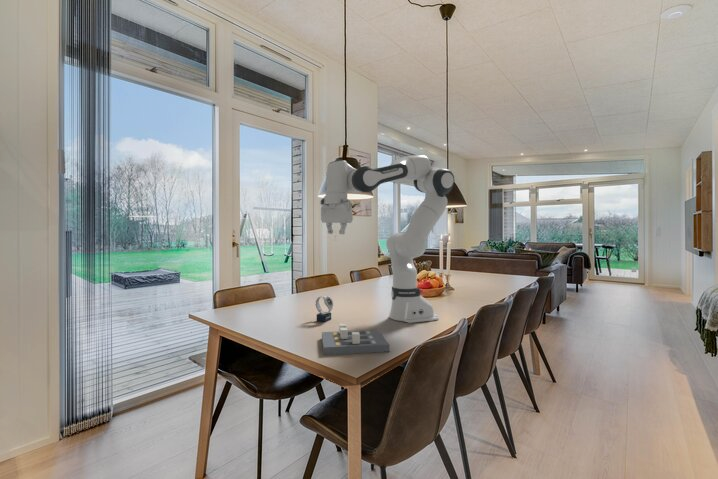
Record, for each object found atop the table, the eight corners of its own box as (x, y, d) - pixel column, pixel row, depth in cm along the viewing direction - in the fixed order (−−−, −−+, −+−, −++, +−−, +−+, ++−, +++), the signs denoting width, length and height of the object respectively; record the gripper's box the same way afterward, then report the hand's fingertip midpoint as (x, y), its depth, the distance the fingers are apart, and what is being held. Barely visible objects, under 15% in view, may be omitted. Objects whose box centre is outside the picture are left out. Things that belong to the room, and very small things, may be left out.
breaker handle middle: (346, 336, 128) (346, 327, 128) (347, 338, 125) (347, 329, 125) (340, 336, 128) (340, 328, 127) (340, 339, 125) (340, 330, 125)
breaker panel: (379, 336, 137) (379, 329, 137) (389, 351, 120) (389, 344, 120) (321, 338, 134) (321, 331, 134) (323, 355, 117) (323, 347, 117)
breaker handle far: (345, 332, 133) (345, 323, 133) (346, 334, 131) (346, 325, 131) (338, 332, 133) (338, 323, 133) (339, 334, 130) (339, 325, 130)
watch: (328, 323, 155) (328, 298, 155) (313, 320, 159) (313, 296, 158) (335, 320, 160) (335, 295, 160) (319, 317, 164) (319, 294, 163)
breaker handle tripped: (358, 341, 123) (358, 331, 123) (359, 343, 120) (359, 334, 120) (351, 341, 123) (351, 332, 123) (352, 343, 120) (352, 334, 120)
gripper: (356, 199, 139) (356, 234, 139) (331, 201, 156) (330, 233, 156) (343, 198, 135) (342, 234, 136) (318, 201, 152) (317, 233, 153)
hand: (335, 234), depth 146 cm, fingers open, 8 cm apart
